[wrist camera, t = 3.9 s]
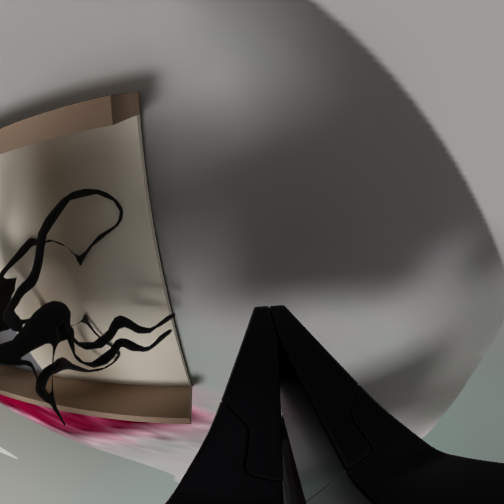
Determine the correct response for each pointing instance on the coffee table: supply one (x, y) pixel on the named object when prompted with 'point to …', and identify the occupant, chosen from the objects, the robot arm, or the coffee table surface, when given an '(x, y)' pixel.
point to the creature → (58, 313)
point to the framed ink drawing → (90, 260)
